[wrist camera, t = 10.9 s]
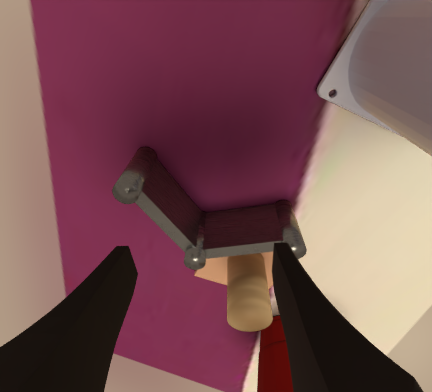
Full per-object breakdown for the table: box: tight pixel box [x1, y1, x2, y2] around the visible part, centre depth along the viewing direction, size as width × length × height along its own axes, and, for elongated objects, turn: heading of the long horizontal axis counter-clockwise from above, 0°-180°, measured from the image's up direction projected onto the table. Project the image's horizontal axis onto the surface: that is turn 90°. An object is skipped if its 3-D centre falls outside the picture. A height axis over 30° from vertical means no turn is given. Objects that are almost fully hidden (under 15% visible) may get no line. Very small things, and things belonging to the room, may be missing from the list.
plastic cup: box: [257, 315, 293, 392], centre depth 28 cm, size 11×11×12 cm
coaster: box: [194, 252, 273, 290], centre depth 26 cm, size 8×8×1 cm
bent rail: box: [112, 147, 306, 270], centre depth 21 cm, size 14×6×5 cm, turn 67°
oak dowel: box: [227, 253, 273, 332], centre depth 24 cm, size 4×4×6 cm
